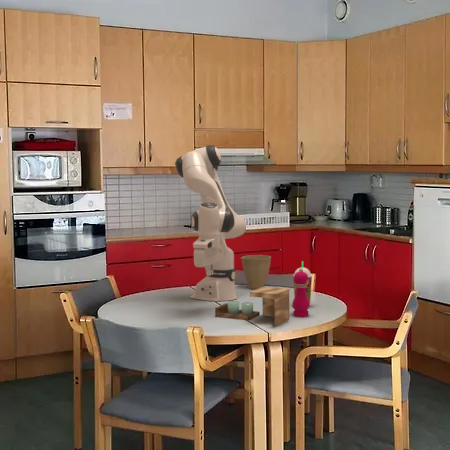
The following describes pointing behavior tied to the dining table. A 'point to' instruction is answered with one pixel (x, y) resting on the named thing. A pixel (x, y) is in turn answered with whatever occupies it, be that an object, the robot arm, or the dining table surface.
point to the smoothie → (308, 288)
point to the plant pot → (256, 270)
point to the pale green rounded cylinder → (247, 309)
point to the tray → (223, 312)
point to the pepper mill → (300, 295)
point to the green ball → (233, 307)
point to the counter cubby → (274, 302)
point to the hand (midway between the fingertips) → (209, 275)
